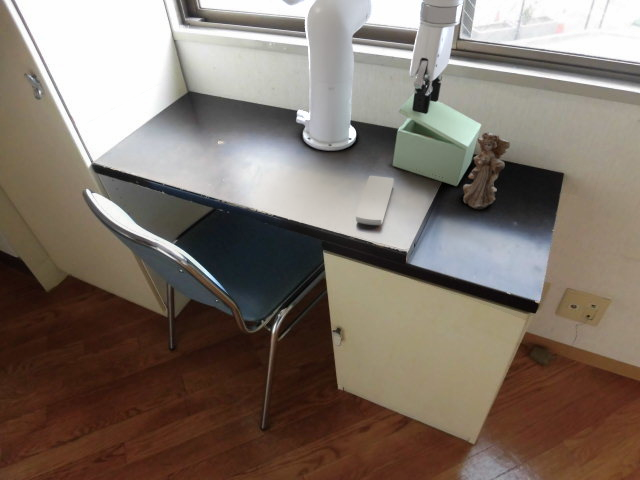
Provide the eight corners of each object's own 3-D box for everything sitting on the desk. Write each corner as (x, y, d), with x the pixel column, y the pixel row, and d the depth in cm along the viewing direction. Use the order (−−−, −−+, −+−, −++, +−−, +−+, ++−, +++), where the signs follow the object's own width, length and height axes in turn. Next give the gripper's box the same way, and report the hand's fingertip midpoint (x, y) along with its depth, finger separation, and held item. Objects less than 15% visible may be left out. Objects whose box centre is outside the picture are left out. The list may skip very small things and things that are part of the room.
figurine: (451, 200, 96) (469, 134, 85) (464, 186, 99) (482, 121, 89) (486, 215, 92) (508, 148, 82) (498, 200, 96) (521, 134, 86)
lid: (398, 112, 95) (406, 93, 92) (416, 92, 102) (424, 74, 99) (465, 149, 93) (476, 132, 90) (479, 127, 99) (490, 110, 96)
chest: (392, 165, 104) (397, 130, 98) (409, 144, 111) (415, 110, 105) (456, 186, 99) (466, 150, 93) (470, 163, 105) (480, 128, 99)
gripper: (436, -4, 92) (422, 86, 104) (402, 22, 81) (391, 119, 93) (474, 2, 89) (455, 93, 101) (444, 30, 78) (428, 128, 90)
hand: (425, 104), depth 97 cm, fingers closed on lid, 5 cm apart
